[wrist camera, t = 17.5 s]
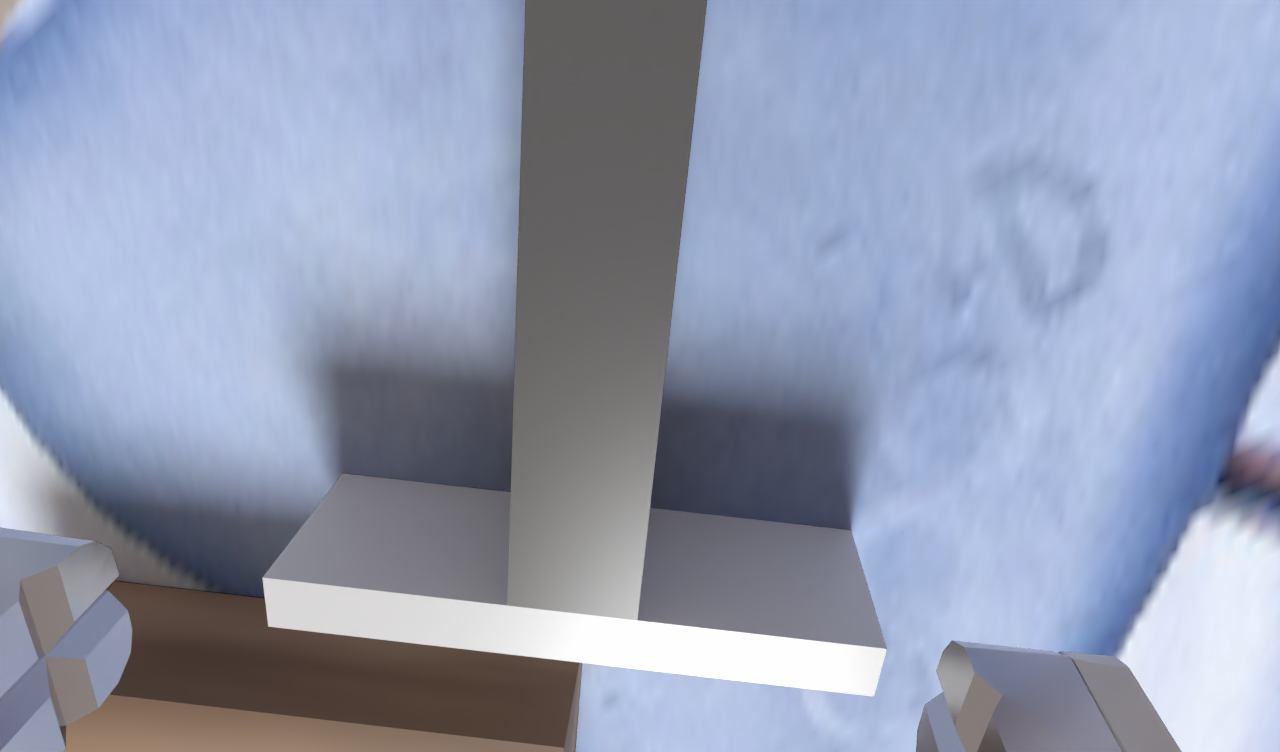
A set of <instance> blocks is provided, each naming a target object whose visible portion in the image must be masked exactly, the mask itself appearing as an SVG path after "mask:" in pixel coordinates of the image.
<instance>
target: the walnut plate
mask: <svg viewBox="0 0 1280 752" xmlns="http://www.w3.org/2000/svg"><path fill="white" fill-rule="evenodd" d="M109 592H110V593H111V594H112V595H113V596H114V597H115V598H116V599H117V600H118V601H119V602H120V603H121V604H122V605H123V606H124V607H125V608H126V609H127V610H128V613H129V617H130V622H131V626H132V642H131V654H130V656H129V658H128V661H127V663H126V666H125V668H124V671H123V673H122V675H121V678H120V680H119V683H118V684H117V685H116V687H115V688H114V689H113V690H112V692H111V693H110V694H109V696H108V697H107V698H106V699H105V701H104V702H103V703H102V704H101V706H100V707H99V708H98V709H96V710H94V711H92V712H91V713H89V714H87V715H85V716H83V717H81V718H80V719H78V720H76V721H74V722H72V723H70V724H69V725H67V726H66V748H65V749H64V751H63V752H575V749H576V737H577V724H578V711H579V698H580V685H581V672H582V663H579V662H571V661H562V660H553V659H545V658H536V657H527V656H519V655H510V654H501V653H493V652H484V651H475V650H467V649H458V648H449V647H441V646H432V645H423V644H415V643H406V642H397V641H389V640H380V639H371V638H363V637H354V636H345V635H337V634H328V633H320V632H311V631H302V630H294V629H285V628H276V627H268V620H267V612H266V604H265V598H256V597H247V596H239V595H230V594H221V593H212V592H204V591H195V590H186V589H177V588H169V587H160V586H151V585H142V584H133V583H125V582H116V581H115V582H114V583H113V585H112V586H111V588H110V589H109Z"/></svg>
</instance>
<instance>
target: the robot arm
mask: <svg viewBox="0 0 1280 752" xmlns="http://www.w3.org/2000/svg"><path fill="white" fill-rule="evenodd" d="M118 576H119V572H118V569H117V566H116V563H115V559H114V556H113V553H112V549H111V548H110V547H108V546H106V545H103V544H101V543H99V542H96V541H92V540H84V539H77V538H70V537H63V536H56V535H49V534H42V533H35V532H28V531H21V530H14V529H6V528H0V752H63V751H64V749H65V748H66V726H67V725H69V724H70V723H72V722H74V721H76V720H78V719H80V718H81V717H83V716H85V715H87V714H89V713H91V712H92V711H94V710H96V709H98V708H99V707H100V706H101V704H102V703H103V702H104V701H105V699H106V698H107V697H108V696H109V694H110V693H111V692H112V690H113V689H114V688H115V687H116V685H117V684H118V683H119V680H120V678H121V675H122V673H123V671H124V668H125V666H126V663H127V661H128V658H129V656H130V654H131V642H132V626H131V622H130V617H129V613H128V610H127V609H126V608H125V607H124V606H123V605H122V604H121V603H120V602H119V601H118V600H117V599H116V598H115V597H114V596H113V595H112V594H111V593H110V592H109V589H110V588H111V586H112V585H113V583H114V582H115V581H116V579H117V578H118ZM936 671H937V674H938V677H939V680H940V684H941V687H942V690H943V692H942V693H941V694H939V695H938V696H936V697H935V698H934V699H932V700H931V701H929V702H928V703H926V704H925V706H924V709H923V713H922V716H921V719H920V723H919V726H918V730H917V746H916V752H1181V750H1180V748H1179V747H1178V745H1177V744H1176V742H1175V740H1174V739H1173V737H1172V736H1171V734H1170V732H1169V731H1168V729H1167V728H1166V726H1165V724H1164V723H1163V721H1162V720H1161V718H1160V717H1159V715H1158V713H1157V712H1156V710H1155V709H1154V707H1153V705H1152V704H1151V702H1150V701H1149V699H1148V697H1147V696H1146V694H1145V693H1144V691H1143V689H1142V688H1141V686H1140V685H1139V683H1138V681H1137V680H1136V678H1135V677H1134V675H1133V673H1132V672H1131V670H1130V669H1129V668H1128V666H1127V665H1125V664H1124V663H1123V662H1121V661H1120V660H1119V659H1117V658H1116V657H1112V656H1102V655H1092V654H1082V653H1072V652H1058V653H1056V652H1053V651H1044V650H1035V649H1026V648H1017V647H1008V646H998V645H989V644H980V643H971V642H962V641H951V642H950V644H949V645H948V646H947V647H946V648H945V650H944V651H943V653H942V656H941V659H940V662H939V664H938V667H937V670H936Z"/></svg>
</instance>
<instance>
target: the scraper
mask: <svg viewBox="0 0 1280 752" xmlns="http://www.w3.org/2000/svg"><path fill="white" fill-rule="evenodd" d="M706 6H707V0H526V1H525V34H524V67H523V100H522V133H521V167H520V200H519V233H518V266H517V299H516V332H515V365H514V398H513V431H512V464H511V492H504V491H495V490H486V489H477V488H468V487H459V486H450V485H441V484H433V483H424V482H415V481H406V480H397V479H388V478H379V477H370V476H361V475H352V474H342V475H341V476H340V478H339V479H338V480H337V481H336V483H335V484H334V485H333V487H332V488H331V489H330V490H329V492H328V493H327V494H326V496H325V497H324V498H323V500H322V501H321V502H320V503H319V505H318V506H317V507H316V509H315V510H314V511H313V513H312V514H311V515H310V516H309V518H308V519H307V520H306V522H305V523H304V524H303V525H302V527H301V528H300V529H299V531H298V532H297V533H296V535H295V536H294V537H293V538H292V540H291V541H290V542H289V544H288V545H287V546H286V548H285V549H284V550H283V551H282V553H281V554H280V555H279V557H278V558H277V559H276V560H275V562H274V563H273V564H272V566H271V567H270V568H269V570H268V571H267V572H266V573H265V575H264V576H263V577H262V579H263V587H264V596H265V604H266V612H267V620H268V627H276V628H285V629H294V630H302V631H311V632H320V633H328V634H337V635H345V636H354V637H363V638H371V639H380V640H389V641H397V642H406V643H415V644H423V645H432V646H441V647H449V648H458V649H467V650H475V651H484V652H493V653H501V654H510V655H519V656H527V657H536V658H545V659H553V660H562V661H571V662H579V663H588V664H597V665H605V666H614V667H622V668H631V669H640V670H648V671H657V672H666V673H674V674H683V675H692V676H700V677H709V678H718V679H726V680H735V681H744V682H752V683H761V684H770V685H778V686H787V687H796V688H804V689H813V690H822V691H830V692H839V693H848V694H856V695H865V696H874V694H875V690H876V687H877V683H878V680H879V676H880V672H881V669H882V665H883V661H884V658H885V654H886V650H887V648H886V644H885V641H884V638H883V634H882V631H881V628H880V624H879V621H878V618H877V614H876V611H875V608H874V605H873V601H872V598H871V595H870V591H869V588H868V585H867V581H866V578H865V575H864V571H863V568H862V565H861V561H860V558H859V555H858V552H857V548H856V545H855V542H854V538H853V535H852V532H851V530H844V529H835V528H826V527H817V526H808V525H799V524H790V523H781V522H772V521H763V520H755V519H746V518H737V517H728V516H719V515H710V514H701V513H692V512H683V511H674V510H665V509H656V508H650V504H651V495H652V486H653V477H654V468H655V459H656V450H657V441H658V433H659V424H660V415H661V406H662V397H663V388H664V379H665V370H666V361H667V353H668V344H669V335H670V326H671V317H672V308H673V299H674V290H675V282H676V273H677V264H678V255H679V246H680V237H681V228H682V219H683V211H684V202H685V193H686V184H687V175H688V166H689V157H690V148H691V139H692V131H693V122H694V113H695V104H696V95H697V86H698V77H699V68H700V60H701V51H702V42H703V33H704V24H705V15H706Z"/></svg>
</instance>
